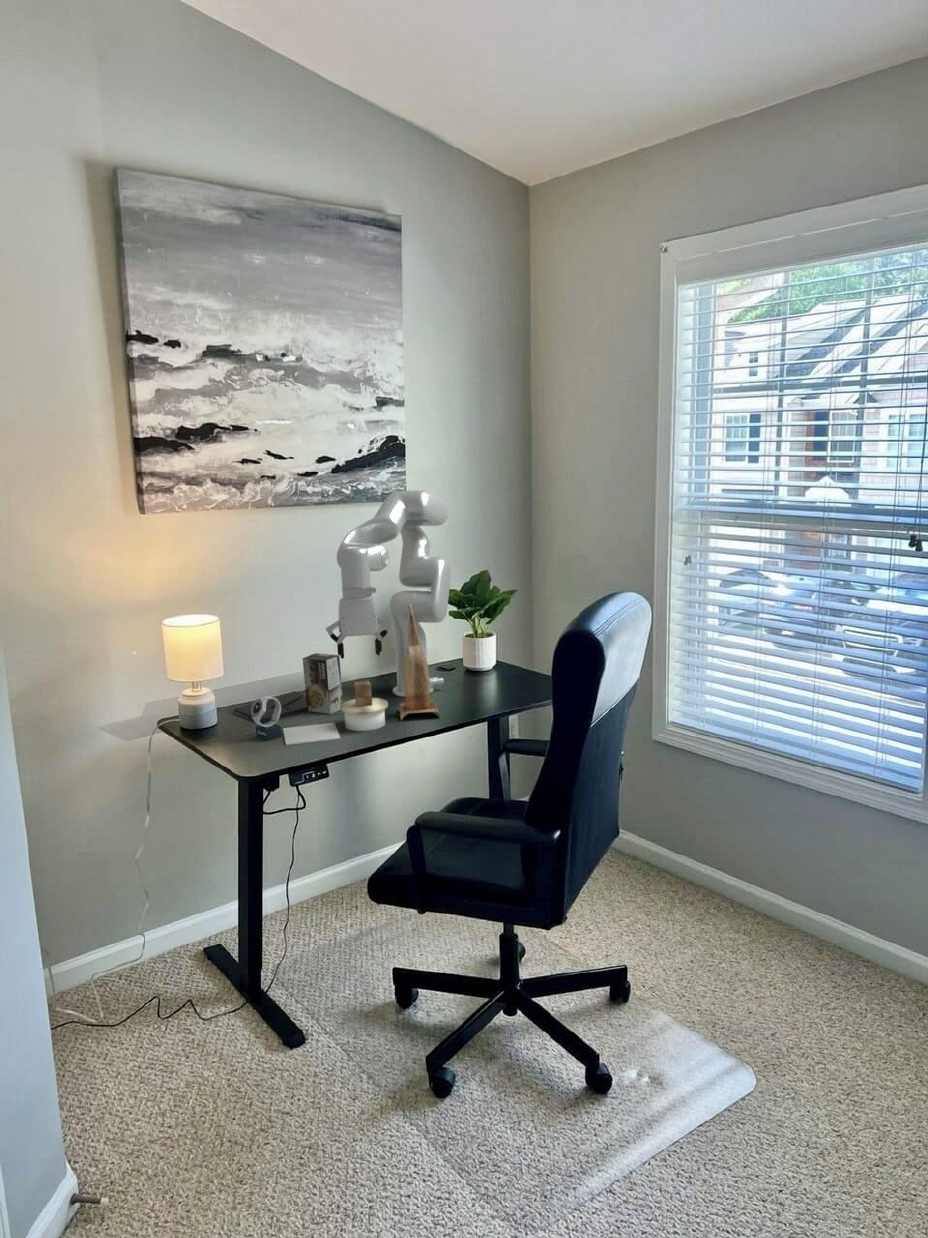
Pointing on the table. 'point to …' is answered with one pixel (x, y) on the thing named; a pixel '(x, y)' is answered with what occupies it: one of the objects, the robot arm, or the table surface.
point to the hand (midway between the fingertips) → (360, 656)
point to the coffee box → (323, 683)
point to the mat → (310, 733)
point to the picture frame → (289, 706)
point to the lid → (363, 701)
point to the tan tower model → (416, 675)
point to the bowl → (365, 721)
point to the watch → (270, 728)
